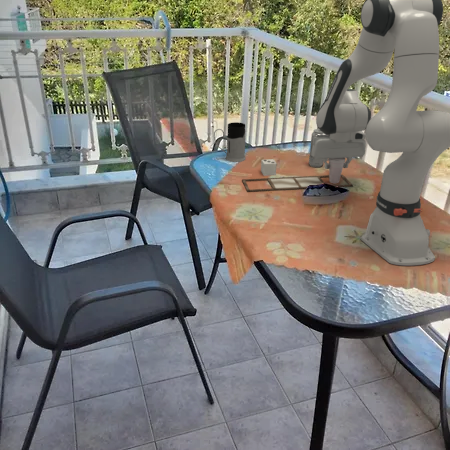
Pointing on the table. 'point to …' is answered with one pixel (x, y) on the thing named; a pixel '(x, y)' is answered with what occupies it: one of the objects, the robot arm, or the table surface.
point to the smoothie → (335, 169)
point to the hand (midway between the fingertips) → (336, 168)
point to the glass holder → (235, 142)
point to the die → (268, 167)
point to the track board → (292, 183)
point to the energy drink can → (312, 160)
